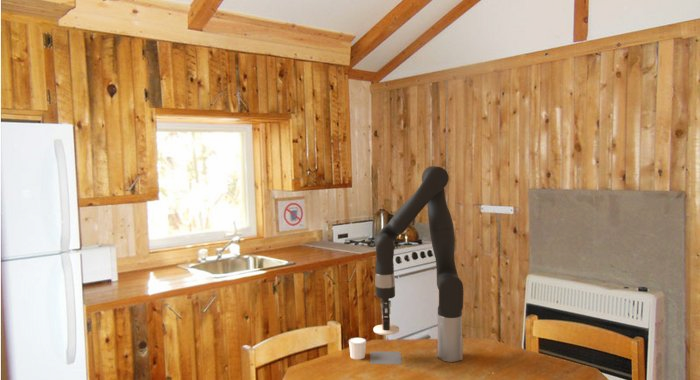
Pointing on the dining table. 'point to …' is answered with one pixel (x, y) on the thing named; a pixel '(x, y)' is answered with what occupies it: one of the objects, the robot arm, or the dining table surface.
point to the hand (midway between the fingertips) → (386, 328)
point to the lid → (380, 330)
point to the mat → (385, 358)
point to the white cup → (357, 348)
